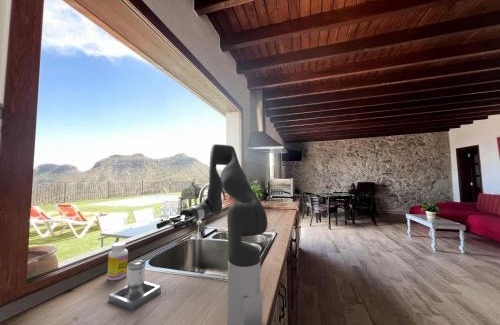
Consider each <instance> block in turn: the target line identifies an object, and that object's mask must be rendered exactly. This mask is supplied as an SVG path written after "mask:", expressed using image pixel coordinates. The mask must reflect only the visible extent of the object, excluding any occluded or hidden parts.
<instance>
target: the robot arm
mask: <svg viewBox="0 0 500 325" xmlns="http://www.w3.org/2000/svg"><path fill="white" fill-rule="evenodd" d="M217 165H218V166H224V167H223V169H222V170H221V173H220V174H219V173H218V169H217ZM208 173H209V178H208V181H209V182H208V189H207V196H206V198H204V199H203V201H201V203H199V204H196V205H191V206H189V207H187V208H184V209H182V210H181V211H180V212H179V214H177V215H175V216H173V215H170V216H167V217H164V218H161V219H160V222H157V223H156V229H157V230H160V229H162V228H164V227H167V226H170V227H173V230H174V231H176V230H178V229H180V228H185V227H186V228H187V227H188V228H189V227H191V226H192V225H194V224H196V223H199V222H200V220H203V219H204V218H207V217H208V216H209V215H210V214H211V215H213V216H218V215H220V213H221V212H222V211H223V210H222V209H223V200H222V194H223V190H224V191H225V193H226V194H227V195H228V196H229V197H231V198H232V199H234V200H235V201H237V203H232V204H230V205H229V207H228V209H227V218H226V221H227V251H228V252H227V256H228V257H227V260H228V261H227V299H226V300H227V304H226V306H227V310H226V311H227V312H226V314H227V315H226V325H263V291H262V290H261V250H260V249H259V248H258V247H257V246H255V245H252V244H248V243H246V242H243V240H242V238H243V237H254V236H259V235H263V234H265V232H266V231H267V229H268V217H267V213H266V210H265V208H264V206H263V204H262V203H261V201H260V200H259V198H258V196H257V195H256V194H255V192H254V190H253V189H252V186H251V185H250V183H249V181H248V178H247V175H246V174H245V172H244V170H243V167H242V166H241V164H240V162H239V158H238V155H237V152H236V150H235V148H234V146H232V145H229V144H217V143H216V144H212V145H211V148H210V153H209V172H208Z"/></svg>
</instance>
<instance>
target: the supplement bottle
mask: <svg viewBox="0 0 500 325" xmlns="http://www.w3.org/2000/svg"><path fill="white" fill-rule="evenodd" d="M111 249H112V250H110V251H109V252H108V255H107V256H108V257H107V258H108V259H107V274H106V275H107V277H106V278H107V280H109V281H118V280H122V279H123V278H125V277H127V276H128V260H129V259H128V258H129V257H128V256H129V251H128V249H127V248H126V242H124V241H122V242H121V241H120V242H115V243H112V244H111Z"/></svg>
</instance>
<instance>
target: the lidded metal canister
mask: <svg viewBox="0 0 500 325" xmlns="http://www.w3.org/2000/svg"><path fill="white" fill-rule="evenodd" d="M145 277H146V260H143V259H136V260H132V261H131V262H128V263H127V285H128V292H127V293H126V294H127V295H126V297H127V298H126V299H128V300H131V301H134V300H136V299H137V298H139V297H141V296H142V295H144V294H145V289H144V282H145Z"/></svg>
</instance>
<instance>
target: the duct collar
mask: <svg viewBox="0 0 500 325" xmlns="http://www.w3.org/2000/svg"><path fill="white" fill-rule="evenodd" d="M144 290H146V291H147V292H146V293H145V292H144V295H142V296H141V297H139V298H137V299H136V300H134V301H131V300H128V299H127V298H125V297H123V296H124V295H126V294H127V292H128V284H127V285H125V286H123V287H121V288H119V289H117V290H115V291H113V292H112V293H109V294H108V302H109V303H112V304H115V305H116V306H119V307H122V308H124V309H127V310H128V311H134V310H135V309H137V308H139V307H140V306H141V305H143V304H144V303H147V301H149V300H151V299H152V298H153V297H155V296H157V295H158V294H160V293H161V292H162V289H161V285H158V284H155V283H152V282H148V281H145V282H144Z"/></svg>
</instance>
